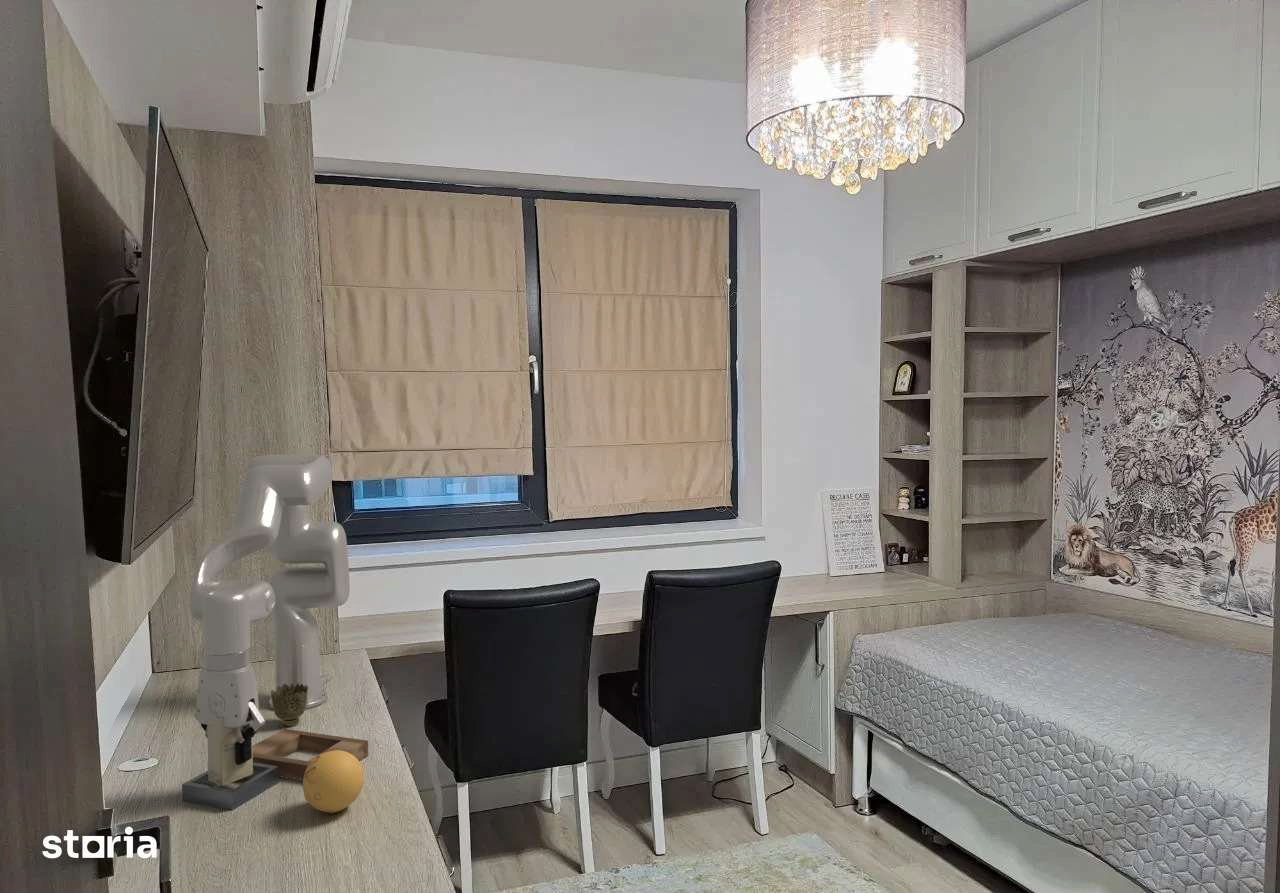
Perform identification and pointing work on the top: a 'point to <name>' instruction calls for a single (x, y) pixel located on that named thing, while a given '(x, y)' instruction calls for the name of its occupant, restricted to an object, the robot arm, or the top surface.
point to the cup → (289, 703)
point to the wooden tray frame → (293, 740)
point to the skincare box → (225, 755)
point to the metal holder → (210, 795)
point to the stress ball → (333, 781)
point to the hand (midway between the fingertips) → (230, 758)
